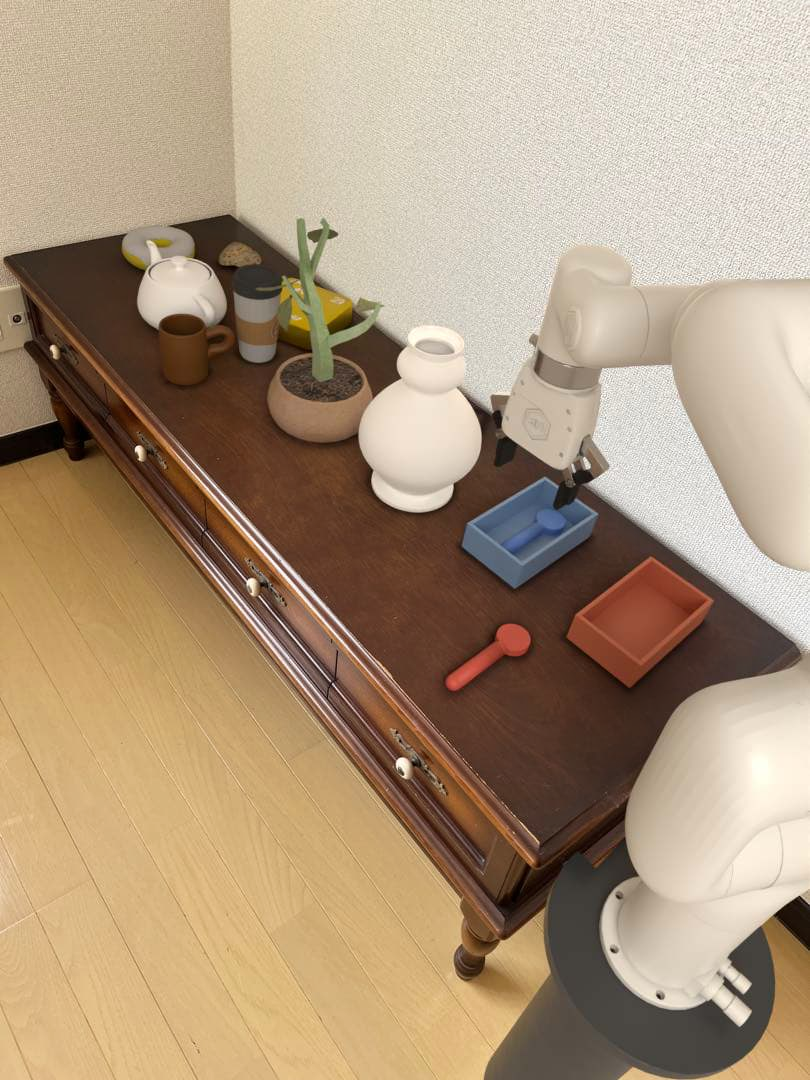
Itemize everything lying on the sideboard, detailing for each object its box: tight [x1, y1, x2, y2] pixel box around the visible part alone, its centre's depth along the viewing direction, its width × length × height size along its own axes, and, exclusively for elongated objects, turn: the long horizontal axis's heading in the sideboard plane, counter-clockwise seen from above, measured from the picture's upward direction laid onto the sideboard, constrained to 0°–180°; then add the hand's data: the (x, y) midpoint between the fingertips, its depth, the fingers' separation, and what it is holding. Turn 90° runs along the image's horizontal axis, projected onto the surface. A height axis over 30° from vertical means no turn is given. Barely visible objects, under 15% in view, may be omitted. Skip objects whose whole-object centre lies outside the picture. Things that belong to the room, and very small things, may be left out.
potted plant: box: [256, 217, 386, 444], centre depth 126 cm, size 22×18×30 cm
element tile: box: [277, 277, 354, 351], centre depth 153 cm, size 15×15×5 cm
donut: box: [121, 225, 196, 272], centre depth 163 cm, size 14×14×5 cm
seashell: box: [218, 241, 263, 268], centre depth 167 cm, size 8×6×8 cm
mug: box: [158, 314, 235, 387], centre depth 135 cm, size 12×8×9 cm, turn 102°
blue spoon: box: [500, 509, 566, 554], centre depth 118 cm, size 14×4×2 cm, turn 133°
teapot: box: [136, 240, 228, 331], centre depth 146 cm, size 25×16×12 cm, turn 36°
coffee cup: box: [231, 263, 283, 364], centre depth 140 cm, size 8×8×15 cm
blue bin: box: [461, 476, 599, 590], centre depth 117 cm, size 17×10×5 cm, turn 133°
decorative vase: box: [358, 324, 482, 513], centre depth 116 cm, size 18×18×25 cm
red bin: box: [565, 556, 715, 689], centre depth 107 cm, size 17×10×5 cm, turn 133°
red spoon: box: [445, 623, 532, 692], centre depth 101 cm, size 14×4×2 cm, turn 133°
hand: (532, 483), depth 101 cm, fingers open, 9 cm apart
